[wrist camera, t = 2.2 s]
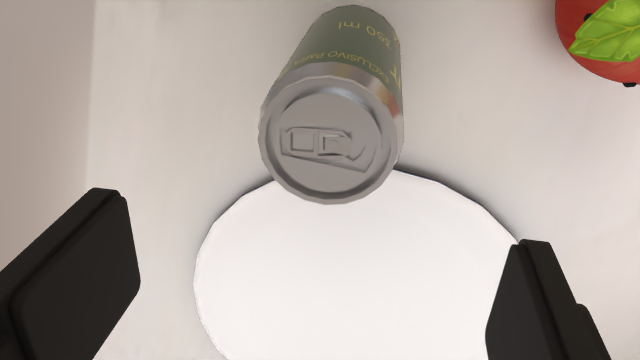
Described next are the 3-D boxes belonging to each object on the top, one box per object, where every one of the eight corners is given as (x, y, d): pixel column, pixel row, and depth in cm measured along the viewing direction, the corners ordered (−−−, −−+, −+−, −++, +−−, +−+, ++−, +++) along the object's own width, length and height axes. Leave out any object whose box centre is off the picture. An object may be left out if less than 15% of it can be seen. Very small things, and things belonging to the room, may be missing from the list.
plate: (614, 245, 31) (621, 258, 30) (431, 444, 44) (432, 457, 43) (248, 98, 29) (243, 105, 28) (168, 349, 42) (163, 361, 41)
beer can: (303, 94, 29) (254, 203, 19) (305, -1, 26) (248, 64, 16) (395, 101, 28) (396, 216, 18) (405, 5, 26) (414, 75, 15)
